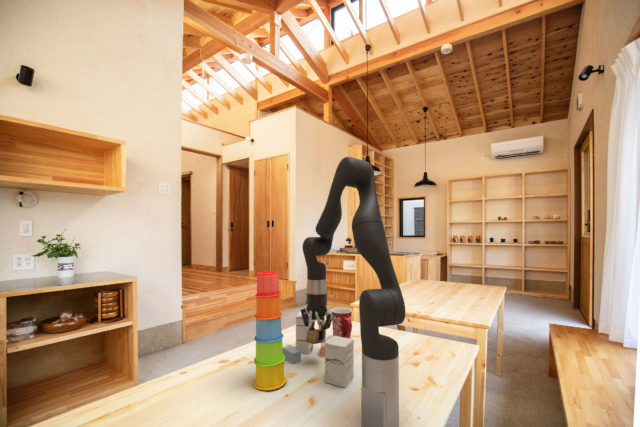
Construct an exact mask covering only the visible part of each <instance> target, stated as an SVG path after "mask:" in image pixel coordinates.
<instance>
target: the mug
mask: <svg viewBox="0 0 640 427" xmlns="http://www.w3.org/2000/svg"><path fill="white" fill-rule="evenodd" d="M331 313H333V314H334V316H333V319H332V322H331V325H332V335H333V336H339V337H344V338H349V339H352V331H353V330H352V329H353V323H352V322H353V321H352V316H353V314H352V313H353V310H352V309H351V308H348V307H335V308H331ZM333 336H332V337H333Z"/></svg>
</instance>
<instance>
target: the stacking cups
mask: <svg viewBox="0 0 640 427" xmlns="http://www.w3.org/2000/svg"><path fill="white" fill-rule="evenodd" d="M280 296H281V292H280V279H279V273H278V272H277V271H276V270H275V271H260V272H257V275H256V293H255V297H256V298H255V300H256V301H255V302H256V306H255V307H256V310H255V311H256V312H255V313H256V314H255V315H254V318H255V336H254V338H253V340H254V341H255V357H254V359H253V364H254V365H255V379H254V381H253V387H254V388H256V389H258V390H259V391H266V392H267V391H275V390H279V389H280V388H282V387H283V386H285V385H286V383H287V379H288V378H287V376H286V375H285V361H286V360H285V355H284V354H283V347H284V346H283V338H284V334H283V333H282V332H283V331H282V316H283V313H282V312H281V302H280V300H281V297H280Z"/></svg>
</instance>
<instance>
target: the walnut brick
mask: <svg viewBox="0 0 640 427" xmlns="http://www.w3.org/2000/svg"><path fill="white" fill-rule="evenodd" d="M326 332H327V330H325V338H324V340H323V341H319V328H315V329H314V330H307V337H306V342H307V343H311V344H313V345H317V344H321V343H324V342H325V340H326V335H327V334H326Z"/></svg>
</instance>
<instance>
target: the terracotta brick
mask: <svg viewBox="0 0 640 427" xmlns="http://www.w3.org/2000/svg"><path fill="white" fill-rule="evenodd" d="M328 340H329V339H325V342H326V341H328ZM325 342H324V343H320V358H325Z"/></svg>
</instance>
